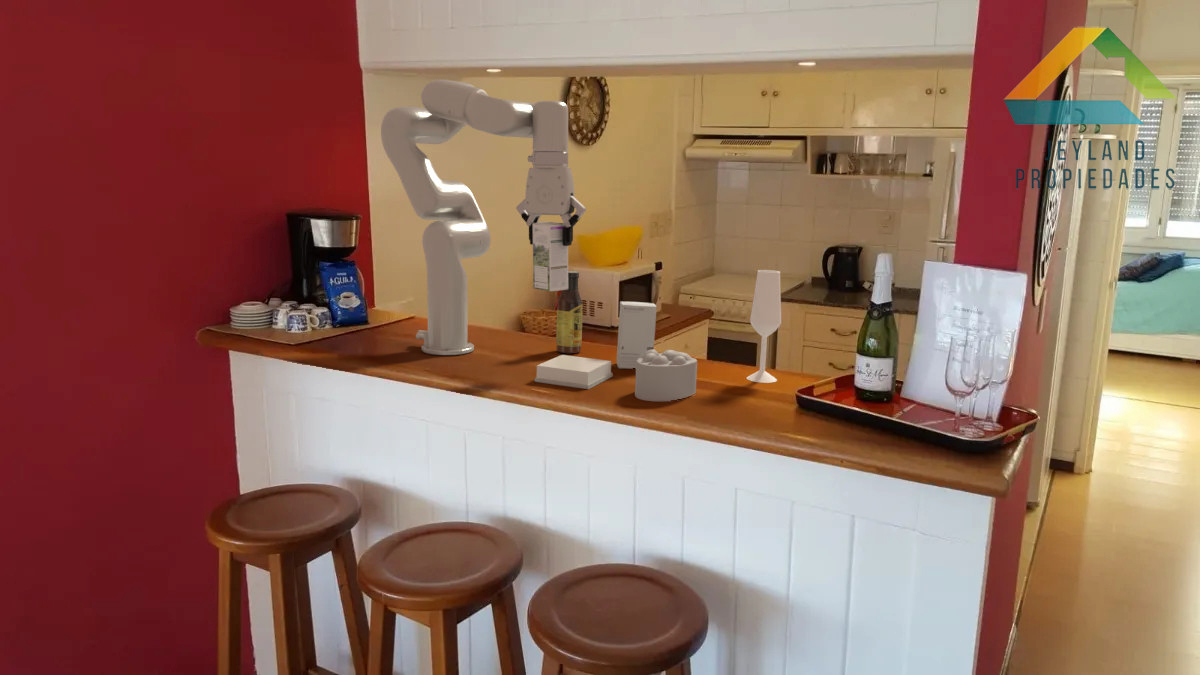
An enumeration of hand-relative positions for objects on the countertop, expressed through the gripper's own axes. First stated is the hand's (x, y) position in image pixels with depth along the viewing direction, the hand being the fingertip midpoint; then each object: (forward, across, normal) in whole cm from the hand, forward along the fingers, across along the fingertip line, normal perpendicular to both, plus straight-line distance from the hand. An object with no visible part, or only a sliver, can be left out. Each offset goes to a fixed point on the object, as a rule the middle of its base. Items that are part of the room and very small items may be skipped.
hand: (550, 244), depth 187 cm
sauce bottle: (+28, -6, +21) cm, 36 cm away
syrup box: (+10, 0, 0) cm, 10 cm away
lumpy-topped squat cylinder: (+29, +28, -5) cm, 41 cm away
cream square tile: (+29, +7, -3) cm, 30 cm away
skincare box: (+29, +14, +15) cm, 36 cm away
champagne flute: (+30, +43, +18) cm, 55 cm away
